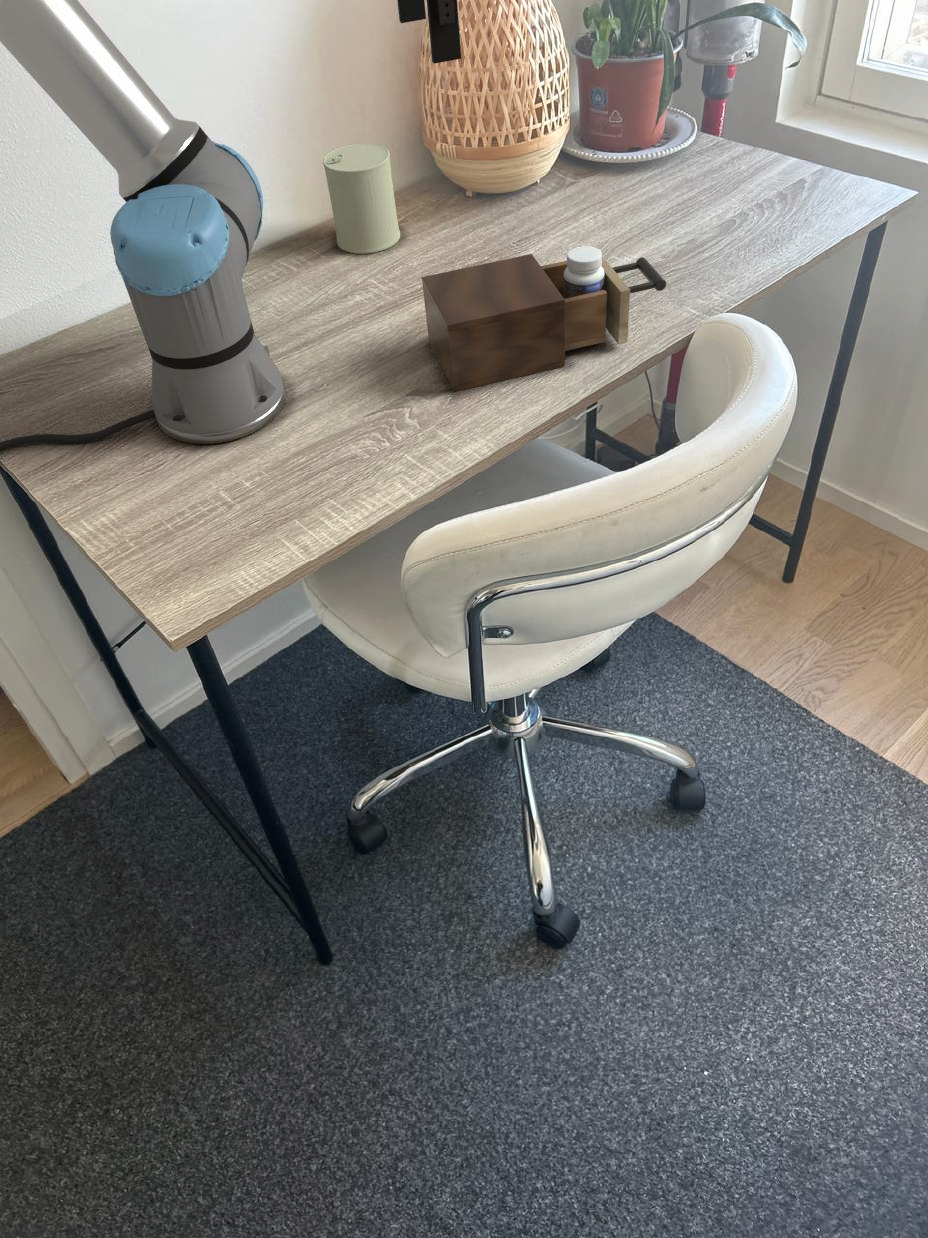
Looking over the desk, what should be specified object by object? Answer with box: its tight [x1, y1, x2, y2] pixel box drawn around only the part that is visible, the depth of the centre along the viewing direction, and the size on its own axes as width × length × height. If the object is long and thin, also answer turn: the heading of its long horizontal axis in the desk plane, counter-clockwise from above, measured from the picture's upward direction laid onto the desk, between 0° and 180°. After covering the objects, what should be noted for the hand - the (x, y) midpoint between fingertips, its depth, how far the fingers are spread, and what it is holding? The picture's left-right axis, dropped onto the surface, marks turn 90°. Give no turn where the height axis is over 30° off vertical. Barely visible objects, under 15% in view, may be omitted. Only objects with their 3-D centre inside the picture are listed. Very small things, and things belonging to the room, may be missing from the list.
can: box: [322, 142, 401, 255], centre depth 136 cm, size 9×9×12 cm
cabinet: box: [421, 253, 566, 393], centre depth 115 cm, size 14×12×9 cm
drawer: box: [540, 255, 667, 352], centre depth 116 cm, size 18×10×7 cm, turn 106°
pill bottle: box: [563, 245, 605, 299], centre depth 115 cm, size 5×5×8 cm
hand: (429, 39), depth 98 cm, fingers open, 13 cm apart
